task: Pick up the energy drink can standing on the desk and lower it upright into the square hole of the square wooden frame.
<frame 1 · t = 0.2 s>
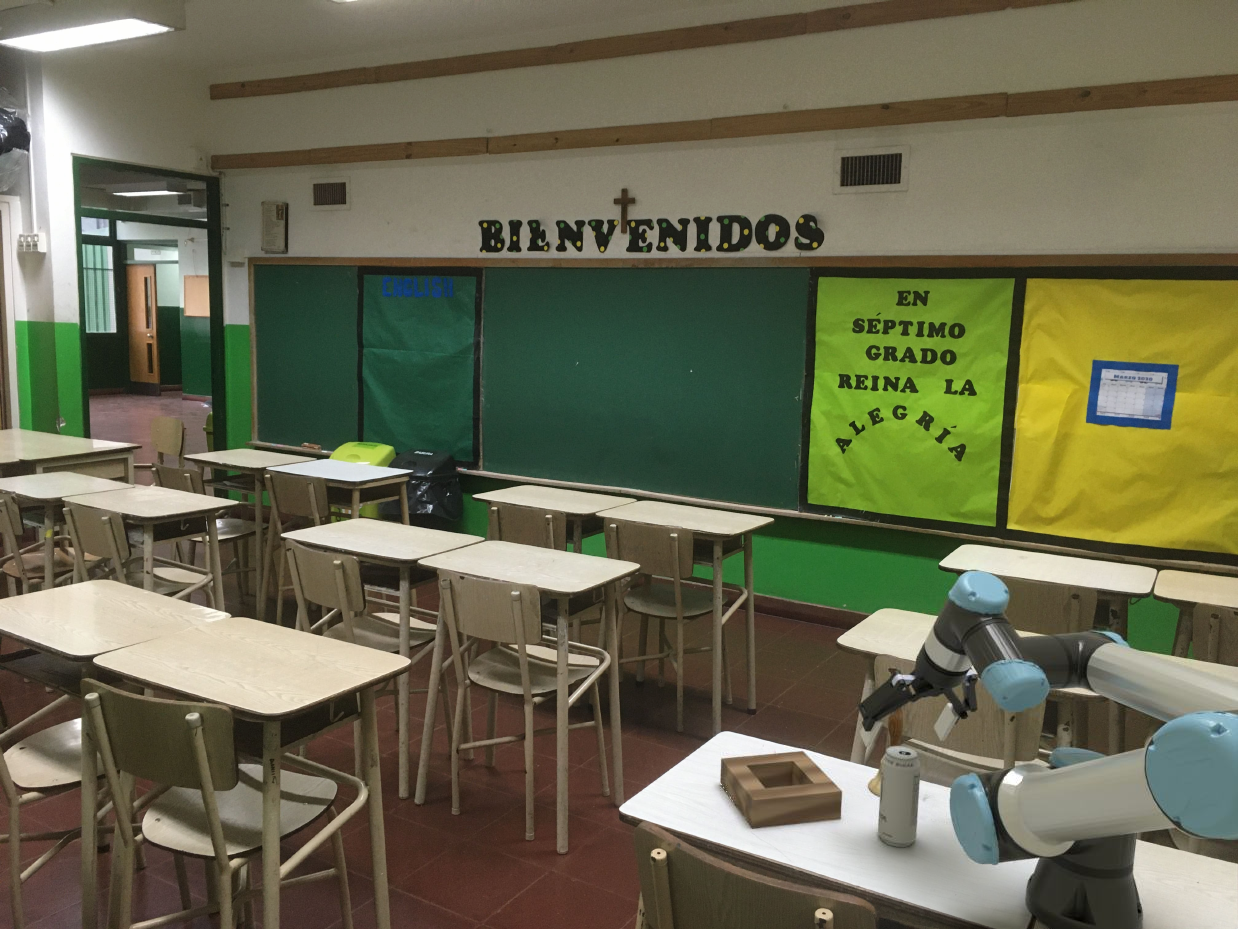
hand: (902, 736, 161), 16 cm above the table, tool tilted 30°, fingers open, 13 cm apart
energy drink can: (896, 840, 159), on the table
hand bell: (891, 790, 176), on the table
square wooden frame: (778, 801, 171), on the table
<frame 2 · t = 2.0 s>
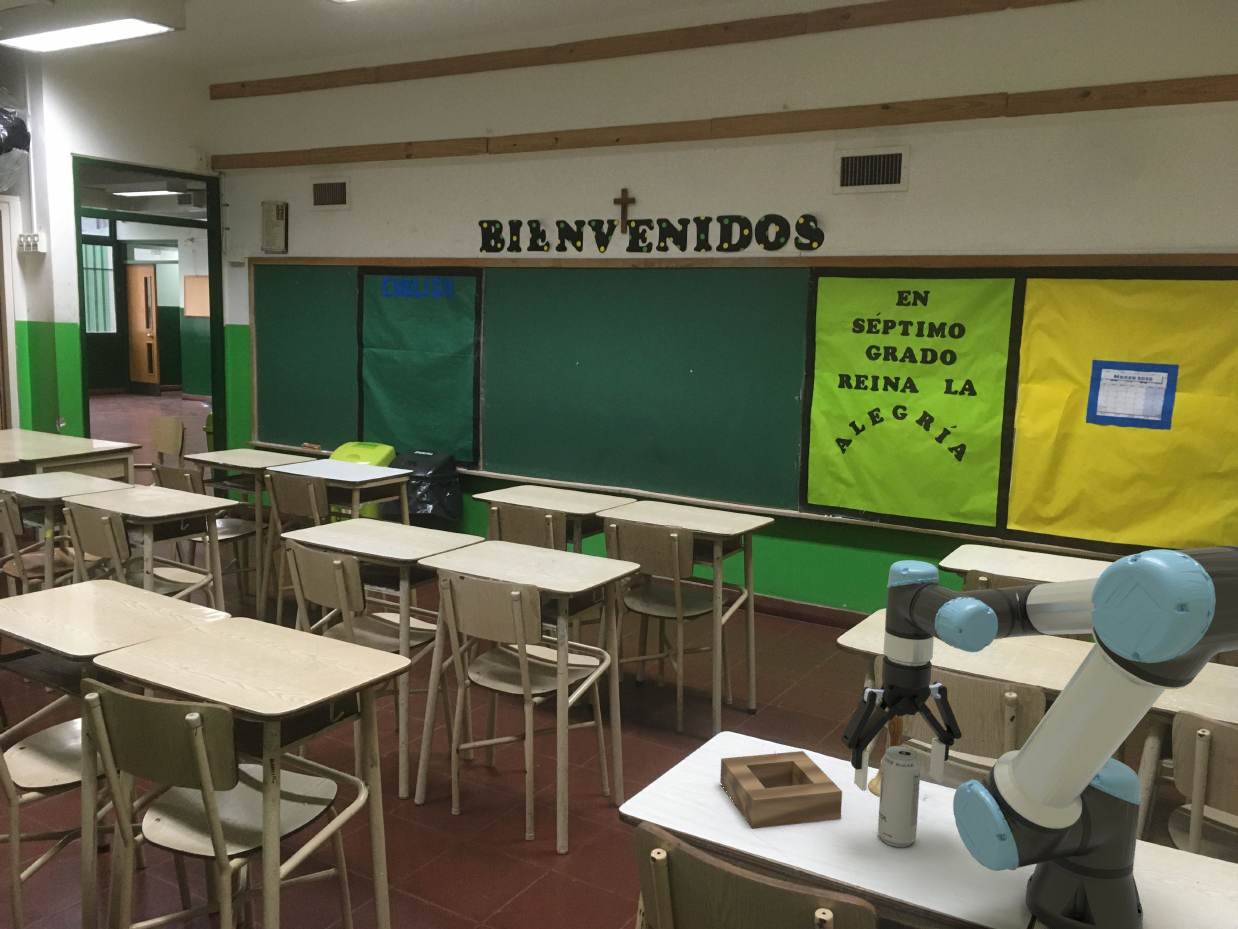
hand: (898, 783, 158), 10 cm above the table, tool pointing down, fingers open, 13 cm apart
nothing on the table moved.
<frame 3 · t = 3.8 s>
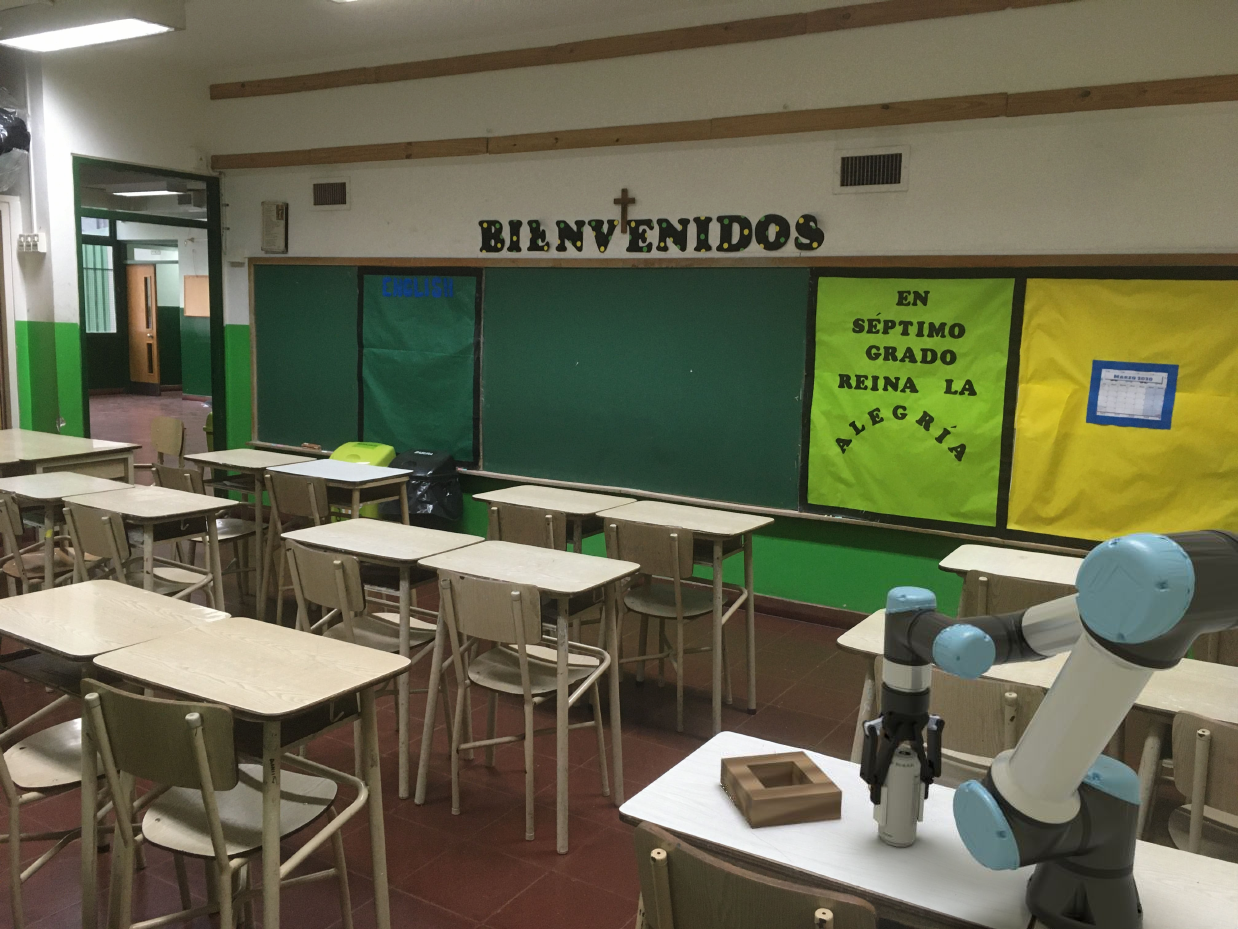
hand: (897, 819, 158), 3 cm above the table, tool pointing down, fingers closed on energy drink can, 6 cm apart
energy drink can: (896, 840, 159), on the table, touching gripper
everything else where it was.
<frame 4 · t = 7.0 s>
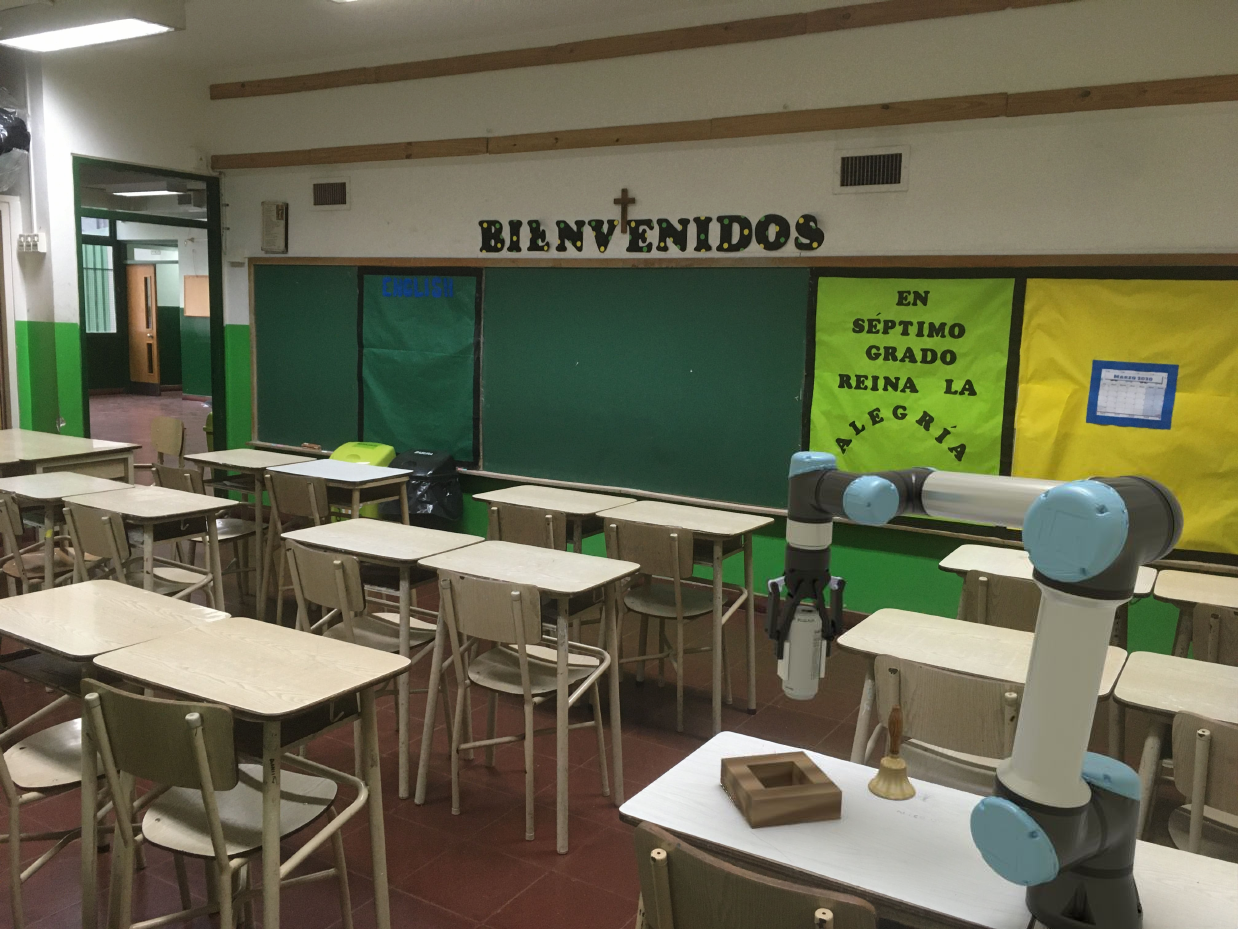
hand: (800, 675, 166), 24 cm above the table, tool pointing down, fingers closed on energy drink can, 6 cm apart
energy drink can: (799, 695, 166), point 20 cm above the table, touching gripper
everything else where it was.
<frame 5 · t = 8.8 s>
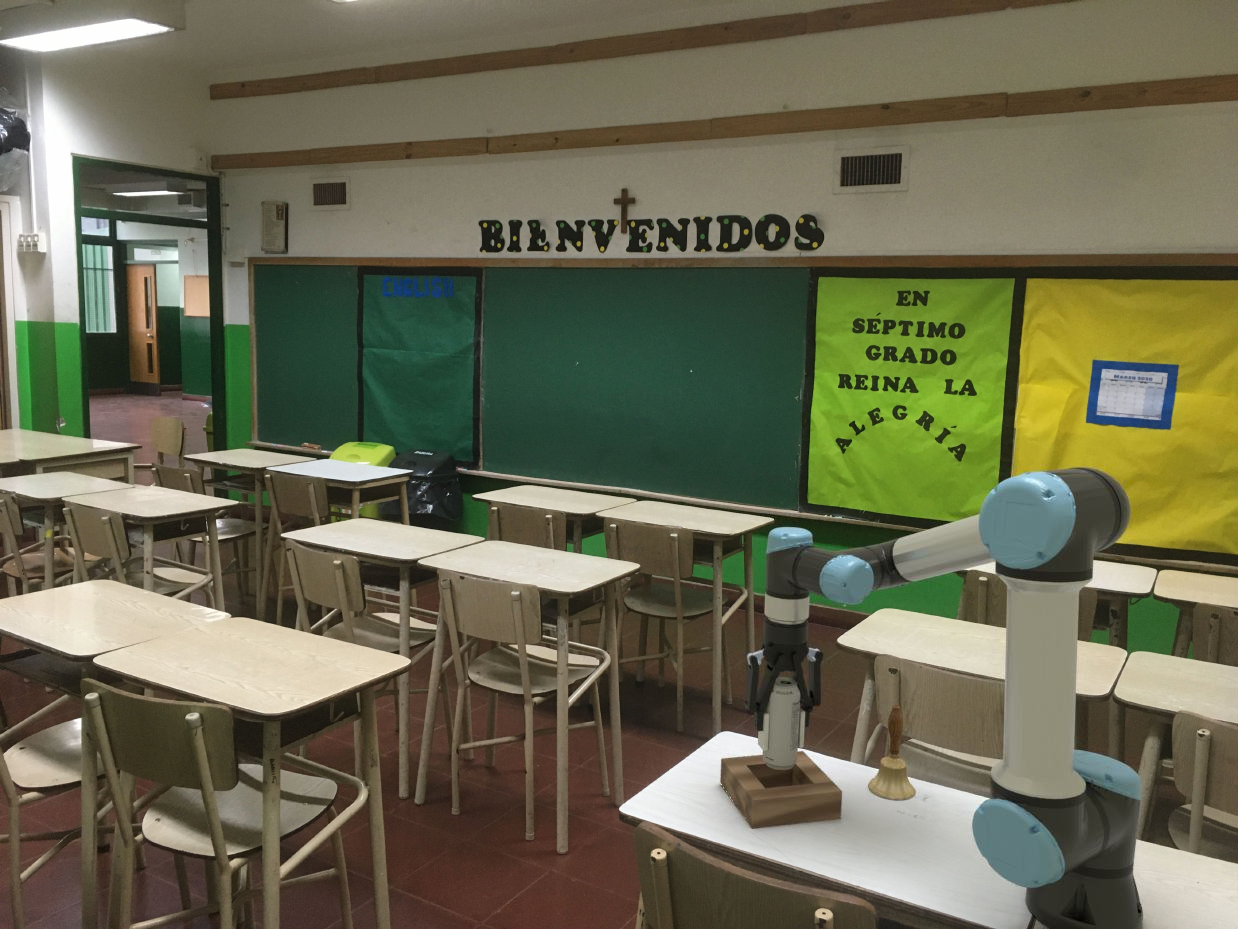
hand: (780, 745, 169), 10 cm above the table, tool pointing down, fingers closed on energy drink can, 6 cm apart
energy drink can: (779, 764, 170), point 7 cm above the table, touching gripper
everything else where it was.
when the fingers open (6 cm above the table, at t = 10.5 s): energy drink can drops 2 cm, resting in square wooden frame.
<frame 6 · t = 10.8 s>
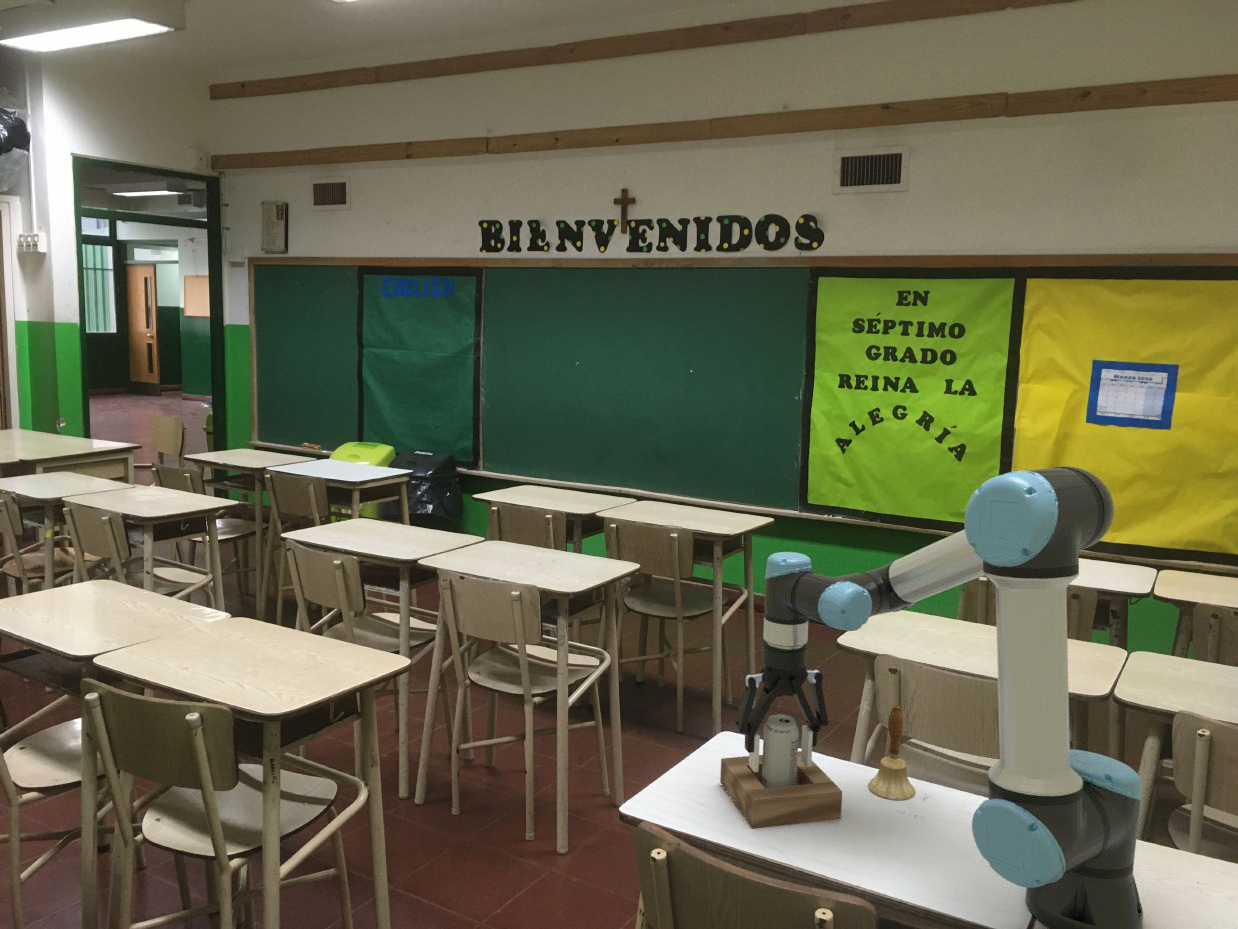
hand: (779, 766, 170), 7 cm above the table, tool pointing down, fingers open, 9 cm apart
energy drink can: (778, 802, 171), resting in square wooden frame
everything else where it was.
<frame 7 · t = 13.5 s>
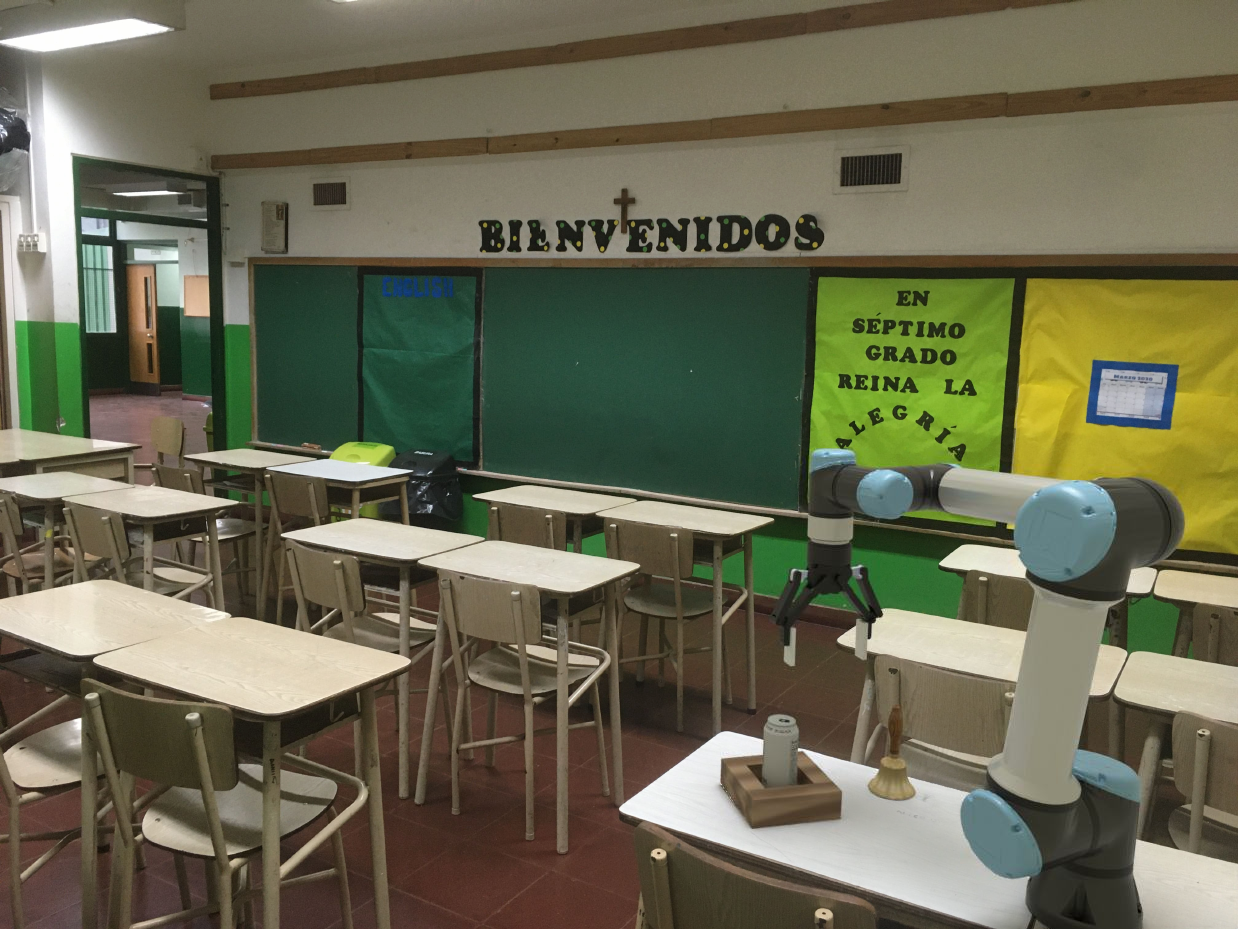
hand: (825, 660, 167), 26 cm above the table, tool pointing down, fingers open, 13 cm apart
nothing on the table moved.
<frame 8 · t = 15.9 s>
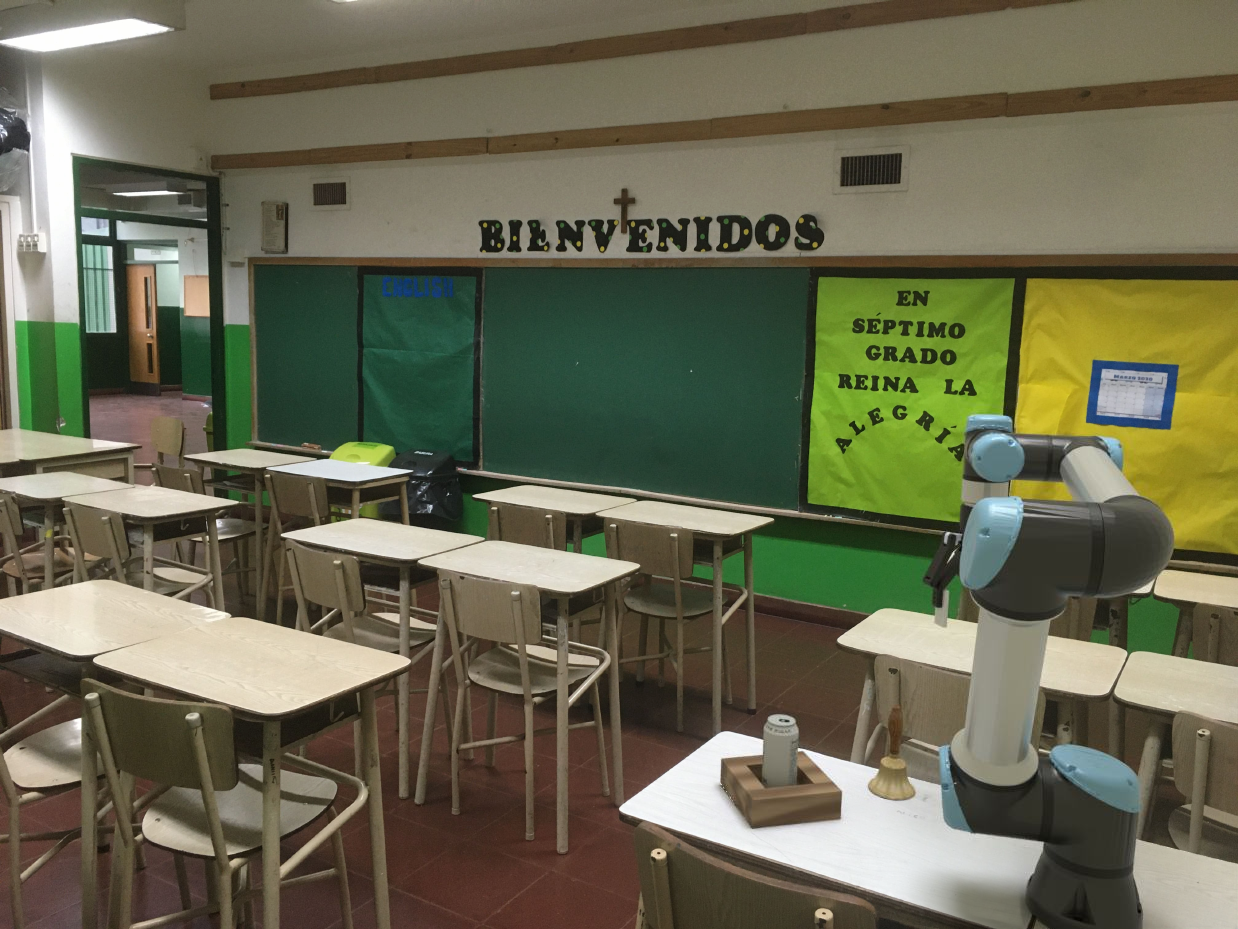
hand: (975, 623, 170), 32 cm above the table, tool pointing down, fingers open, 13 cm apart
nothing on the table moved.
at the end: energy drink can 0.0 cm off-centre on the square wooden frame, point 0.0 cm above the square wooden frame's base; energy drink can tilted 0°; the gripper is holding nothing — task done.
